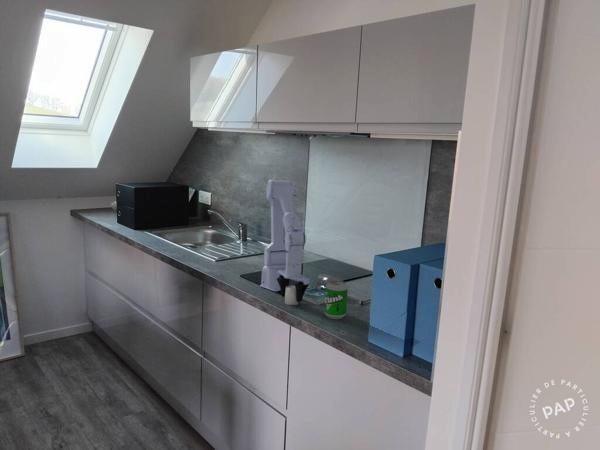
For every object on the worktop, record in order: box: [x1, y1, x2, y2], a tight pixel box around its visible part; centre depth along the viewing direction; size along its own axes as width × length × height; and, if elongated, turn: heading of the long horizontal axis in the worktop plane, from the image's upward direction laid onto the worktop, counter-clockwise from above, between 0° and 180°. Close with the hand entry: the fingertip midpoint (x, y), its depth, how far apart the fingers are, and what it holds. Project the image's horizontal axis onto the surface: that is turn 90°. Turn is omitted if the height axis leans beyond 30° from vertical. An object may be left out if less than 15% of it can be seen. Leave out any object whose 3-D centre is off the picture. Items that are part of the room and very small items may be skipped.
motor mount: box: [302, 273, 344, 305], centre depth 178 cm, size 12×18×8 cm, turn 137°
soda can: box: [323, 280, 349, 320], centre depth 158 cm, size 8×8×12 cm
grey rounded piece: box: [284, 284, 299, 306], centre depth 170 cm, size 5×7×6 cm
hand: (291, 298), depth 170 cm, fingers open, 7 cm apart
